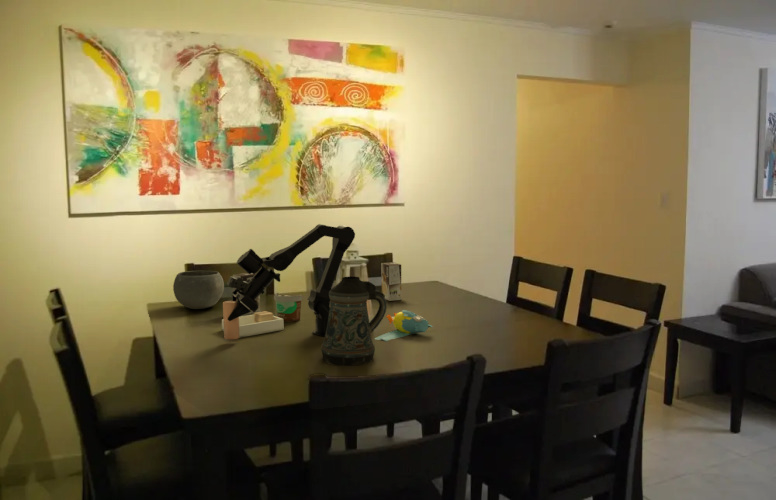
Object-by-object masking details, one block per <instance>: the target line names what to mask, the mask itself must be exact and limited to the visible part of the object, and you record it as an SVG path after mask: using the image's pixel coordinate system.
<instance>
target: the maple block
mask: <svg viewBox="0 0 776 500" xmlns="http://www.w3.org/2000/svg"><path fill="white" fill-rule="evenodd" d="M253 315H254V323H258V322H264V321H271V320H273V316H274V313H273V312H270V311H267V310H264V311H260V312H257V313H253Z"/></svg>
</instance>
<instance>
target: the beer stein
mask: <svg viewBox="0 0 776 500" xmlns="http://www.w3.org/2000/svg"><path fill="white" fill-rule="evenodd" d="M329 298H330V305H329V307H330V310H329V317H328V324H327V330H326V334H325V336H324V337H323V341H322V344H321V346H320V350H321V357H322V361H323V362H324V363H327V364H329V365H335V366H343V367H344V366H350V367H351V366H360V365H365V364H368V363H370V362H372V361H373V360H374V356H375V350H376V348H375V344H374V342H373V339H372V335H371V333H373V332H374V330H376V329H377V328H378V326H379V325H380V324H381V322H382V320H383V319H384V317H385V316H386V312H387V306H388V303H387V300H386V299H385V295H384V294H383V293H382V292H381V291H379V290H377V289H376V284H374V283H372V282H370V281H366V280H364V281H363V280H361V279H360V277H359V276H343V277H342V278H341V280H340V282H338V283H337V284H336V285H335V286H332V288H331V290H330V291H329ZM372 300H375V301H377V302H378V305H379V306H378V309H377V311H376V313H375V315H374V316H373V318H372V319H371V320H370V317H369V310H368V305H367V304H368V303H367V302H368V301H372Z"/></svg>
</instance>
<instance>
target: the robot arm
mask: <svg viewBox="0 0 776 500" xmlns="http://www.w3.org/2000/svg"><path fill="white" fill-rule="evenodd" d="M355 236H356V232H355V231H354V229H353V228H352V227H350V226H346V225H341V224H340V225H338V226H329V225H326V224H321V223H318V224H316V225H315V227H313V228H312V229H311V230H309V231H308V232H307V233H305V234H304V235H302V236H300V238H298V239H297V240H295V241H294V242H293V243H291V244H290V245H289V246H287V247H284V248H282V249H279V250H277V251H275V252H273V253H271V254H270V255H269V256H267V257H266V256H265V257H260V256H259V255H258V254H257V253H256V251H254V249H253V248H249V249H248V250H247V251H245V252H244V253H243V254H241V256H239V257H238V259H237V260H236V265H238V266H239V267H240V269H242V270H244V272H245V273H248V274H251V273H253V274H255V273H256V274H255V275H254V277H253V278H252V279H251V280H250V279H248V280H247V281H246V282H245V281H243V279H242V278H239V277H238V278H235V277H233V275H232V276H231V275H230V276H229V278H228V280H227V283H226V286H228V287H229V288H232V290H230V293H231V301H236V306H235V308H234V309H233V311H232V312H231V314H230V315H229V317H228V320H229V321H231V320H233V319H235V318H238V317H241V316H245V315H244V314H247V313H249V312H251V311H250V309H251V310H252V311H253V312H255V311H256V310H257V309H258V304H257V303H256V301H255V300H256V299H257V298H258V296H259V295H260V296H261V295H263V294H264V293H265V290H266V289H267V287H269V286H270V284H271V283H272V282H273V281H274V280H276V281H277V282H278V283H281V274H280V273H279V272H284V271H285V270H286V269H288V268H289V266H291V264H293V262H294V261H295V259H296V258H298V257H297V256H299V255H300V254H301V253H303V252H304V251H306V250H307V249H308V248H309V247H311V246H313V245H314V244H315V243H316V242H318V241H319V240H320V239H322V238H323V237H329V238H332V240H331V241H332V242H331V243H332V244H331V245H332V248H331V252H330V253H329V256H328V260H327V262H326V264H325V268H324V271H323V273H322V276H321V277H320V278H321V279H320V281H319V284H318V286H317V288H316V289H313V288H312V289H311V290H310V293H309V295H308V298H307V300H308V301H307V304H308V307H309V309H310V310H311V311H312V312H313V314H314V315H315V330H312V334H315V335H318V336H321V337H325V334H326V330H327V324H328V317H329V310H330V304H331V300H330V298H329V291H330V290H331V289H332V288H333V284H334V283H335V279H336V276H337V275H338V271H339V269H340V266H341V263H342V260H343V257H344V255H345V253H346V251H347V250H348V249H349V248H350V247H351V245H352V243H353V241H354V240H355V238H356V237H355ZM264 265H265V266H266V267H268V268H266V267H265V266H264ZM273 269H274V270H276V271H277V272H278V273H276V272H275V271H274V270H273ZM233 294H234V296H233Z"/></svg>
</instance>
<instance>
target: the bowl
mask: <svg viewBox="0 0 776 500" xmlns="http://www.w3.org/2000/svg"><path fill="white" fill-rule="evenodd" d="M172 287H173V289H172V290H173V294H174V298H175V299H176V300H177V301H178V303H180V305H182V306H184V307H186V308H187V309H191V310H204V309H207V308H208V309H209V308H211V307H213V306H214V305H216V304H217V303H218V302H219V300H221V297H222V295H223V293H224V290H225V282H224V279H223V276H222V275H221V273H220V272H219V271H215V270H190V271H189V270H188V271H187V270H186V271H181V272H179V273H178V274H176V275H175V279H174V281H173V285H172Z"/></svg>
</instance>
